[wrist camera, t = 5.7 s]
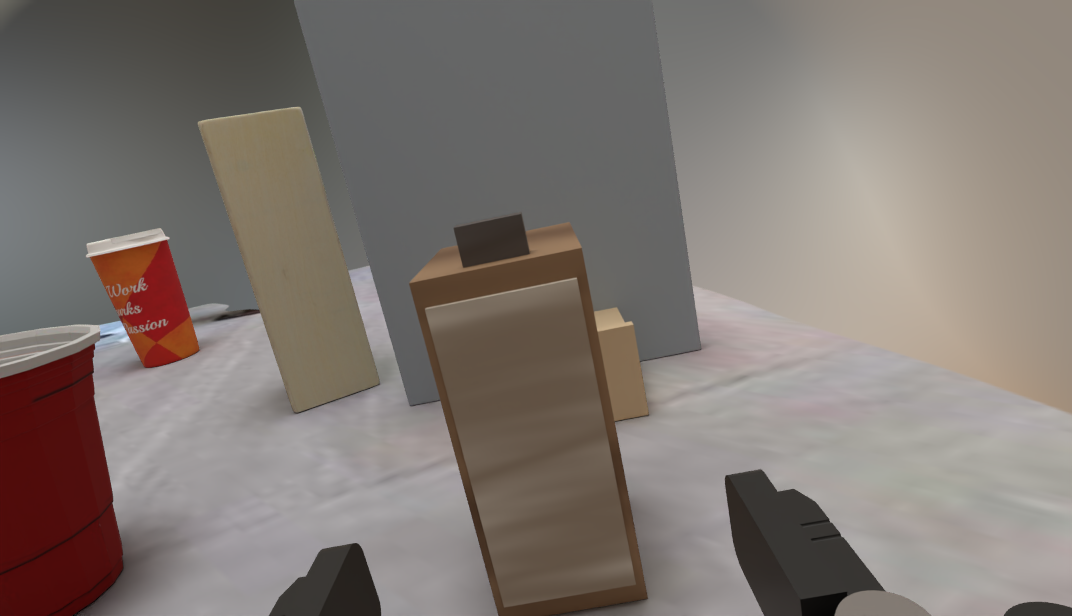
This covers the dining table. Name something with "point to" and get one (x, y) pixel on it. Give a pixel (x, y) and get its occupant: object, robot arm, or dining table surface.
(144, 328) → the coffee cup
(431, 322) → the walnut cabinet
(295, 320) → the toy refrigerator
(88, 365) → the plastic cup
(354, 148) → the wall board
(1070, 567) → the dining table surface
